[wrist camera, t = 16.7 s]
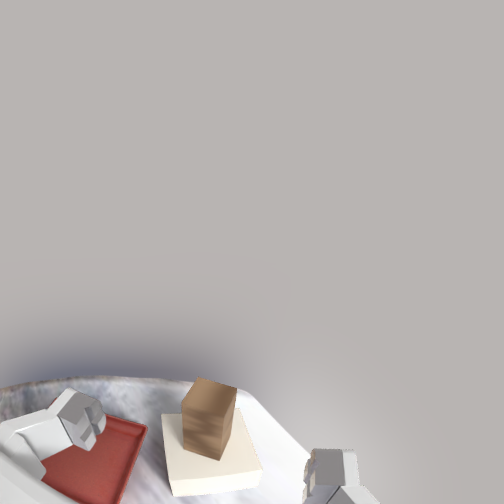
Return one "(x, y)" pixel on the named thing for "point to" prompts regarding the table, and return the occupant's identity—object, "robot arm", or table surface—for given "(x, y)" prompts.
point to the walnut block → (208, 418)
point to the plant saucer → (97, 464)
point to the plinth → (210, 461)
